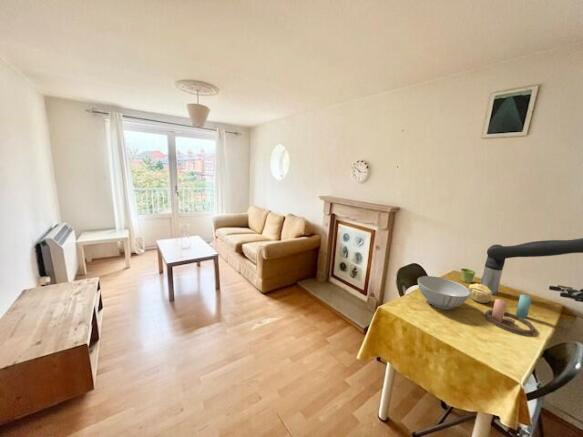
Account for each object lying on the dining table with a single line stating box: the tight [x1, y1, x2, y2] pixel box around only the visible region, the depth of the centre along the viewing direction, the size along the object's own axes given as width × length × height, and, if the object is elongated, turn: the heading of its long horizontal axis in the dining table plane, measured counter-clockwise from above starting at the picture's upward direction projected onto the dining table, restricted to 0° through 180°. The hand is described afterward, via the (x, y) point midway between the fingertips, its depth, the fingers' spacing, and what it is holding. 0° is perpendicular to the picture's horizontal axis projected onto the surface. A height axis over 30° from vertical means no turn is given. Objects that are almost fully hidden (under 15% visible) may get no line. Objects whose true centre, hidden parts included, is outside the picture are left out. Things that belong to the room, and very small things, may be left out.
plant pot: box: [460, 267, 477, 284], centre depth 176 cm, size 9×9×9 cm
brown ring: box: [484, 309, 536, 336], centre depth 125 cm, size 19×19×2 cm
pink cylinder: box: [490, 298, 508, 324], centre depth 125 cm, size 5×5×12 cm
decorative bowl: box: [417, 275, 471, 310], centre depth 141 cm, size 27×27×12 cm
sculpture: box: [468, 282, 493, 304], centre depth 148 cm, size 12×12×11 cm
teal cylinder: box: [515, 294, 533, 320], centre depth 132 cm, size 5×5×12 cm
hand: (554, 291), depth 126 cm, fingers open, 8 cm apart
